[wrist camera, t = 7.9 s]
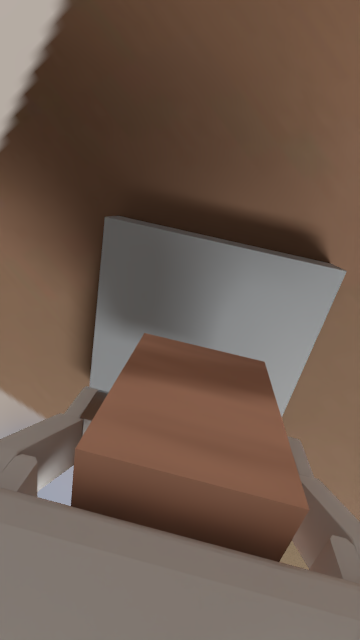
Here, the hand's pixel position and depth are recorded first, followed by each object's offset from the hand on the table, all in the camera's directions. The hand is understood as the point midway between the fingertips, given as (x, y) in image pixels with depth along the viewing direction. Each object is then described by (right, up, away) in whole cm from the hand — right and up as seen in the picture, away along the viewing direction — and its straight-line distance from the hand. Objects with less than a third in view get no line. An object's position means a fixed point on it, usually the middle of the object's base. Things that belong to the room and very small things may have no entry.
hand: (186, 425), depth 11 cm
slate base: (+1, +3, +7) cm, 8 cm away
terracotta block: (0, +1, +2) cm, 2 cm away
